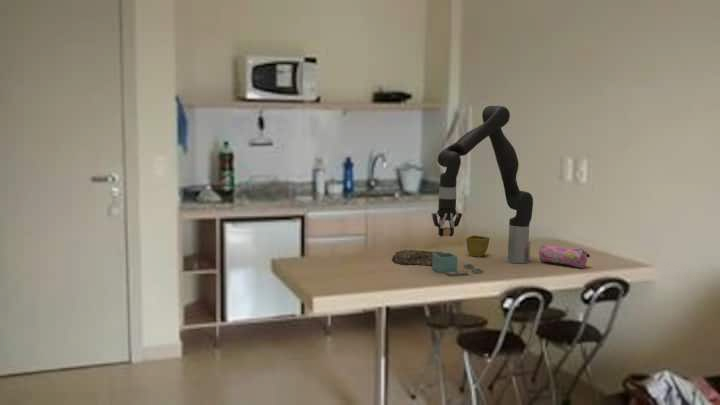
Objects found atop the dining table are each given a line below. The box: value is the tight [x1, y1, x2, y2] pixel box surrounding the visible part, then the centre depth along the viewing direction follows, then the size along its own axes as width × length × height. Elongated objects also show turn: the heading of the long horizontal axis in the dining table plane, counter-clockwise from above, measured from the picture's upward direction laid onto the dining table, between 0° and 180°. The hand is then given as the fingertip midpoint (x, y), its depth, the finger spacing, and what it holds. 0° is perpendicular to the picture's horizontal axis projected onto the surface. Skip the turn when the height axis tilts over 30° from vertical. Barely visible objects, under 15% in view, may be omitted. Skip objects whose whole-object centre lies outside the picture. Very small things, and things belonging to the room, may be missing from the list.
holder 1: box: [462, 263, 475, 270], centre depth 327 cm, size 4×4×1 cm
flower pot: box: [465, 234, 491, 258], centre depth 352 cm, size 9×9×9 cm
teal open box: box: [431, 252, 458, 274], centre depth 320 cm, size 8×8×7 cm
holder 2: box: [471, 268, 484, 274], centre depth 318 cm, size 4×4×1 cm
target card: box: [444, 270, 469, 277], centre depth 314 cm, size 9×5×1 cm, turn 106°
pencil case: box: [538, 243, 591, 269], centre depth 335 cm, size 21×9×9 cm, turn 53°
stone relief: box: [391, 249, 443, 267], centre depth 341 cm, size 26×4×30 cm
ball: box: [443, 226, 451, 237], centre depth 317 cm, size 4×4×4 cm
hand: (445, 236), depth 318 cm, fingers closed on ball, 4 cm apart
